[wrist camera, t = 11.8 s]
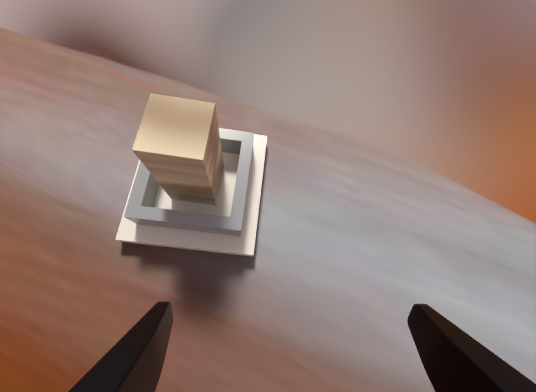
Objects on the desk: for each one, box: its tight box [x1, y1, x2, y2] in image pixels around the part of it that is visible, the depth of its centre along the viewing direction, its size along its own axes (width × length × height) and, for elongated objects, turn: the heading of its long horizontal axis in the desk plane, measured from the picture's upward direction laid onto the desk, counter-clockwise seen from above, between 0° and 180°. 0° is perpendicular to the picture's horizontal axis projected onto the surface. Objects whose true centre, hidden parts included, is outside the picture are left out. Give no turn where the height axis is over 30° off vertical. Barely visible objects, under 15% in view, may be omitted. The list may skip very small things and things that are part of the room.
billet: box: [132, 93, 224, 205], centre depth 19 cm, size 4×4×9 cm
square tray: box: [115, 128, 267, 257], centre depth 23 cm, size 12×12×4 cm
